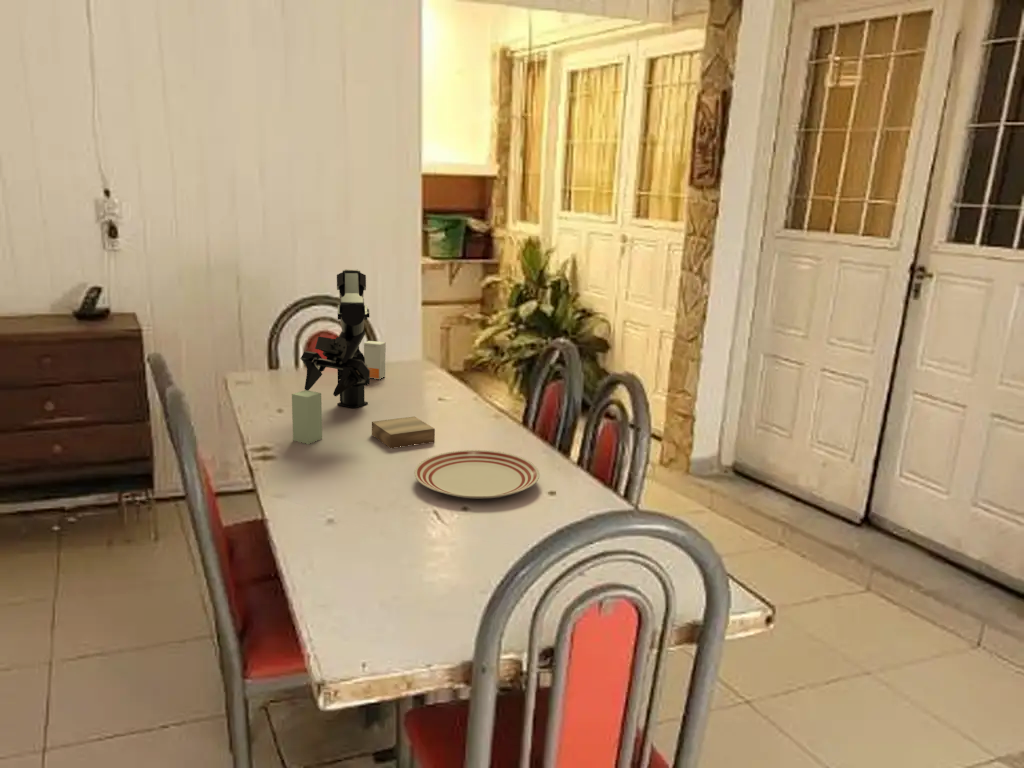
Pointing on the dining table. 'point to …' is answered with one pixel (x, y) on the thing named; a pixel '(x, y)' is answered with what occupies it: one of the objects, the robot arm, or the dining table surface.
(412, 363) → the dining table surface
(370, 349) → the skincare box
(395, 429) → the walnut block
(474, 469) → the dinner plate
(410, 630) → the dining table surface
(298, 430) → the sage block
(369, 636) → the dining table surface
